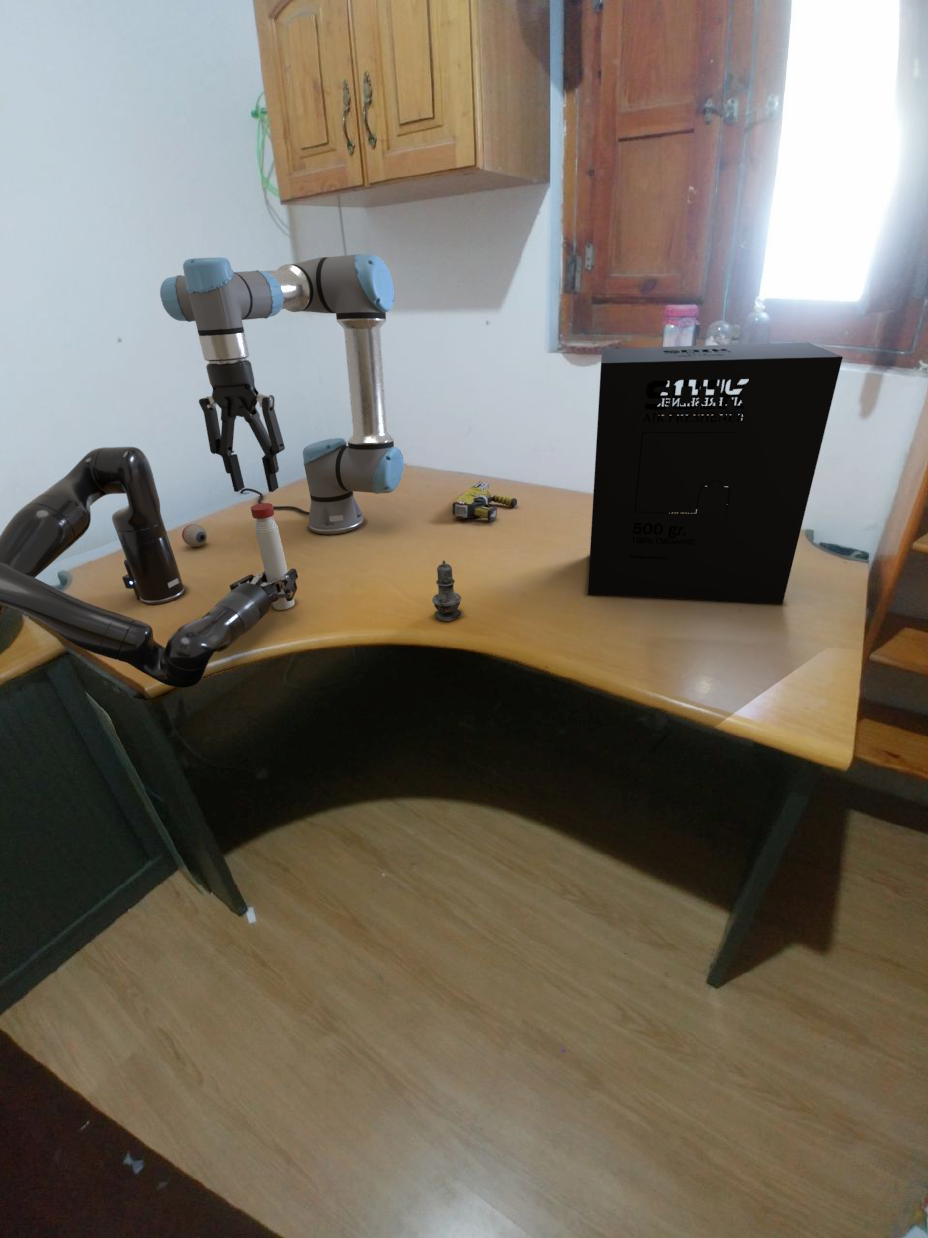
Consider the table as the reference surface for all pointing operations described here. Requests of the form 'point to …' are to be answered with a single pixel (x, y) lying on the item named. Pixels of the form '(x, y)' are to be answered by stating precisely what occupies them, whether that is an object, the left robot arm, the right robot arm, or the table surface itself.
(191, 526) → the eyeball
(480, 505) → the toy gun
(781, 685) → the table surface
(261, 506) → the cap
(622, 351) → the cardboard box
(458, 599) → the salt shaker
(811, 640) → the table surface
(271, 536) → the bottle
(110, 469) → the left robot arm
